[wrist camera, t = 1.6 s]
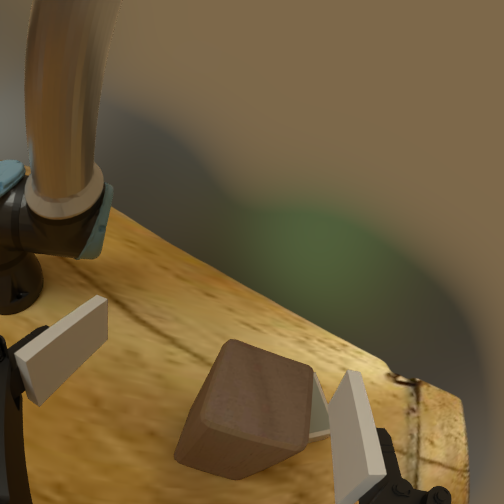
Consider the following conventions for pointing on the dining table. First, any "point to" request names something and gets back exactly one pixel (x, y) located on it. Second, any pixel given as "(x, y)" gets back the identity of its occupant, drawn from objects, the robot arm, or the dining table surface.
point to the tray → (318, 414)
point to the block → (247, 413)
